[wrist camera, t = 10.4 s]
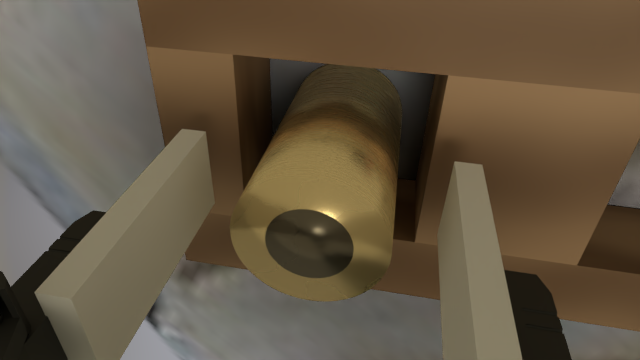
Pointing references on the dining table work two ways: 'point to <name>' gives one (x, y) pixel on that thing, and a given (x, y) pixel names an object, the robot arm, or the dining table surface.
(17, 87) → the dining table surface
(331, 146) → the brass bushing
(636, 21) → the frame
